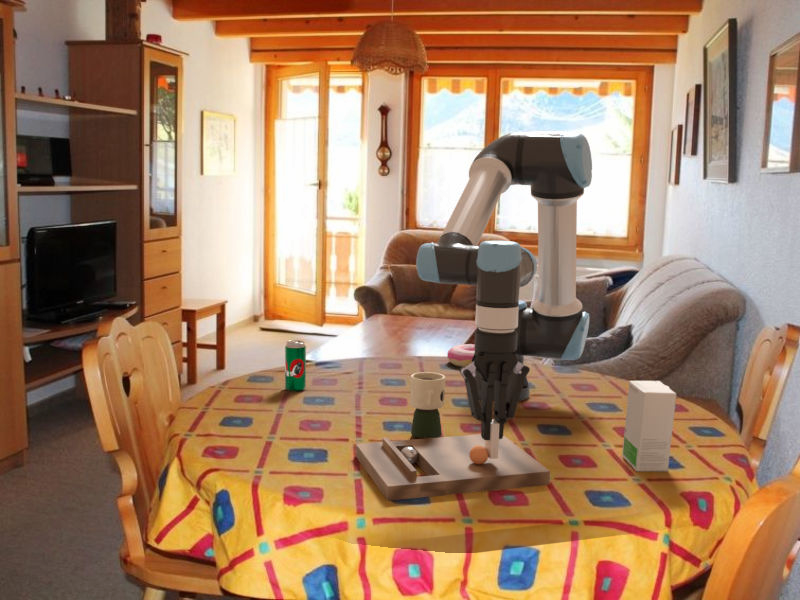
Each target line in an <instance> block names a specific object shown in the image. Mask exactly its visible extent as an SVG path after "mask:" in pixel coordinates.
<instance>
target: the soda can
mask: <svg viewBox="0 0 800 600" xmlns="http://www.w3.org/2000/svg"><path fill="white" fill-rule="evenodd" d="M284 349H285V350H284V370H285V371H284V388H285V389H286V391H288V390H289V392H293V391H297V392H302V391H304V390H305V389H306V384H307V381H306V380H307V379H306V377H307V375H306V371H307V369H306V368H307V367H306V366H307V365H306V364H307V363H306V362H307V345H306V344H305V341H304V340H298V339H295V340H287V341H286V344H285V346H284Z"/></svg>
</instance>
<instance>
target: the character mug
mask: <svg viewBox="0 0 800 600" xmlns="http://www.w3.org/2000/svg"><path fill="white" fill-rule="evenodd" d="M409 388H410V391H409V392H410V393H409V404H410V406H411V407H412V408H415V410H414V411H413V416H412V417H413V418H412V424H411V429H410V430H411V432H410V434H411V436H413V437H415V438H422V439H426V438H439V437H442V424H441V415H440V411H439V409H440V408H442V407H444V406H445V398H446V397H445V394H446V376H445V375H444V374H442V373H438V372H429V371H424V372H423V371H421V372H415V373H412V374H411V375H410V387H409Z"/></svg>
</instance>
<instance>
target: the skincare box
mask: <svg viewBox="0 0 800 600" xmlns="http://www.w3.org/2000/svg"><path fill="white" fill-rule="evenodd" d="M676 401H677V392H675V391H674V390H672V389H671V388H670V386H668V385H666V384H664V383H663V382H662V381H661V380H629V381H628V393H627V403H626V404H627V405H626V413H625V422H624V423H625V424H624V432H623V433H624V434H623V435H624V436H623V444H622V451H621V452H622V454H621V455H622V458H624V459H625V460H626V462H627V463H628V465H630V466H631V467H632V468H633V469H634V470H635V471H636V472H669V466H670V465H669V463H670V457H671V456H670V454H671V448H672V447H671V446H672V437H673V436H672V435H673V427H674V421H675V420H674V419H675V412H676V411H675V409H676Z"/></svg>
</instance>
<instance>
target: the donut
mask: <svg viewBox="0 0 800 600" xmlns="http://www.w3.org/2000/svg"><path fill="white" fill-rule="evenodd" d="M474 345H475V343H474V344H473V343H467V344H466V343H465V344H464V343H463V344H457V345H455V346H454V345H453V346H452V347H451V348H450V349H448V352H447V359H448V361H449V363H450V364H452V365H454V366H456V367H460V368H461V367H466V366H468V365H469V364H471V363H472V358H473V356H474V353H475V349H474Z"/></svg>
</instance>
